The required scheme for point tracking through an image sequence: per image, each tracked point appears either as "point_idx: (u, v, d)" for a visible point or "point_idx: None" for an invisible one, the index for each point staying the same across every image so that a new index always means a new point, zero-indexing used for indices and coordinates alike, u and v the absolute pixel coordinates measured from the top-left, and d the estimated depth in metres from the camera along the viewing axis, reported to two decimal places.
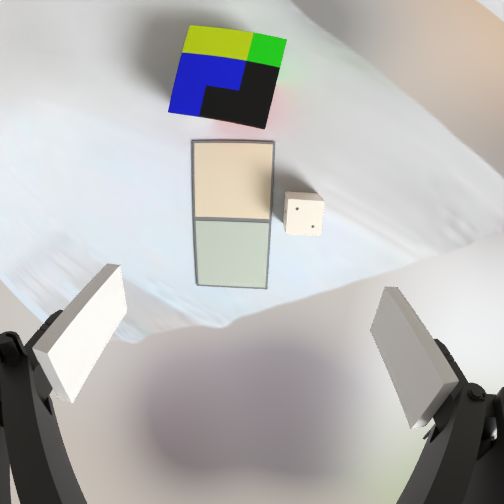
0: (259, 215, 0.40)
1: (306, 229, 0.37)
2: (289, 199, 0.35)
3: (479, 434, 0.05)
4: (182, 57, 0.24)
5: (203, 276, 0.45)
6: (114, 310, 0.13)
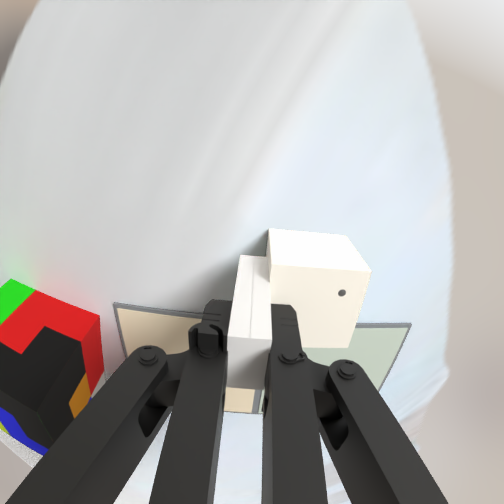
0: None
1: (345, 308, 0.13)
2: None
3: (312, 398, 0.07)
4: (14, 437, 0.14)
5: None
6: None
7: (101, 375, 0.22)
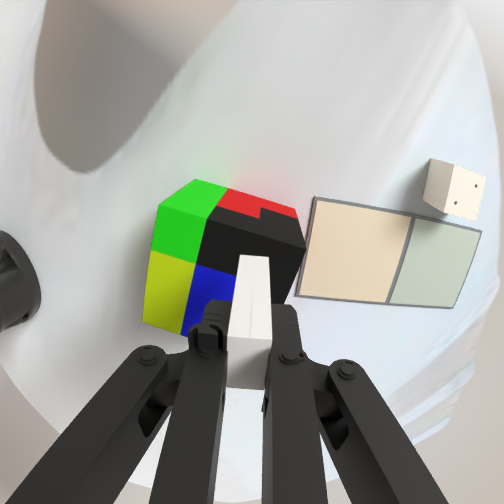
0: (404, 228, 0.27)
1: (476, 195, 0.21)
2: (444, 210, 0.22)
3: (312, 398, 0.07)
4: (187, 334, 0.22)
5: (447, 300, 0.31)
6: None
7: None
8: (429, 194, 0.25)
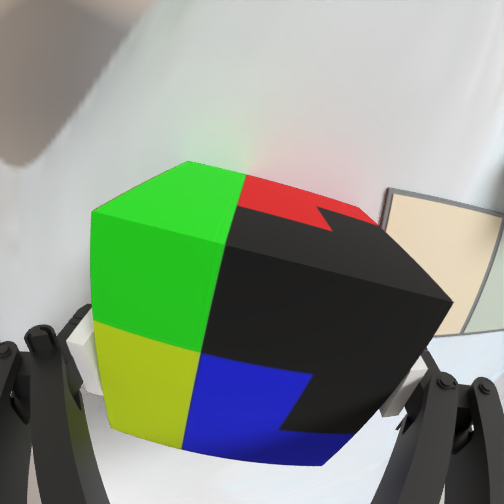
0: (494, 233, 0.16)
1: None
2: None
3: (453, 423, 0.06)
4: (194, 450, 0.10)
5: None
6: None
7: None
8: None
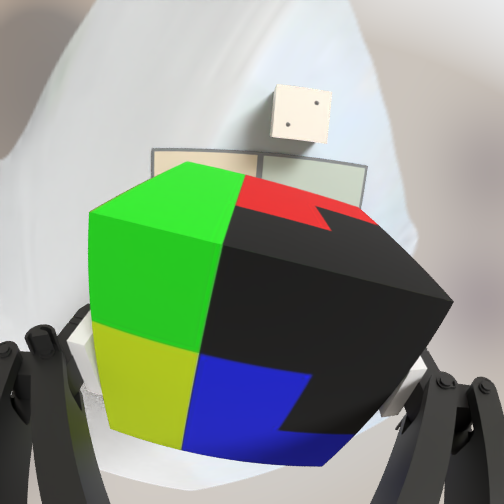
0: (251, 167, 0.28)
1: (320, 113, 0.22)
2: (273, 135, 0.23)
3: (452, 423, 0.06)
4: (193, 450, 0.10)
5: None
6: None
7: None
8: (271, 126, 0.25)
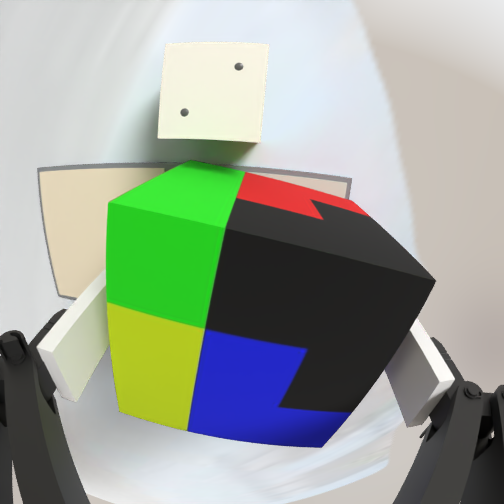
0: None
1: (246, 84, 0.11)
2: (160, 134, 0.12)
3: (476, 432, 0.05)
4: (199, 431, 0.11)
5: None
6: None
7: None
8: None
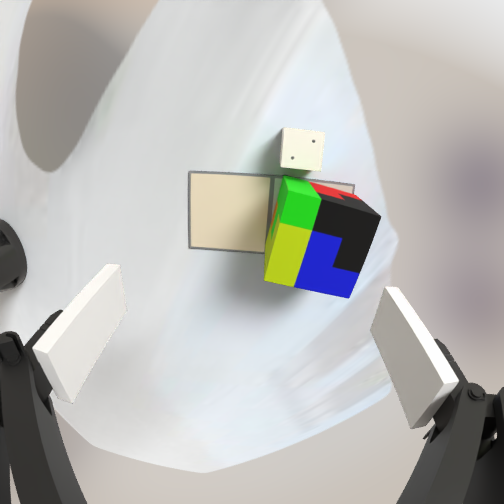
0: (265, 187, 0.37)
1: (316, 148, 0.31)
2: (281, 165, 0.32)
3: (479, 434, 0.05)
4: (298, 286, 0.31)
5: None
6: (114, 310, 0.13)
7: None
8: (280, 156, 0.35)
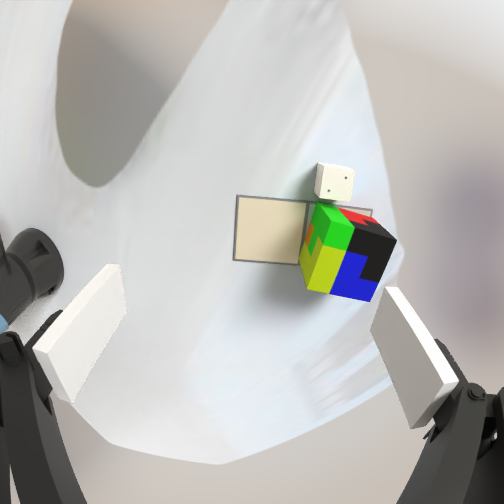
0: (302, 211, 0.45)
1: (347, 183, 0.39)
2: (320, 196, 0.40)
3: (479, 434, 0.05)
4: (333, 293, 0.39)
5: None
6: (114, 310, 0.13)
7: None
8: (316, 186, 0.43)
